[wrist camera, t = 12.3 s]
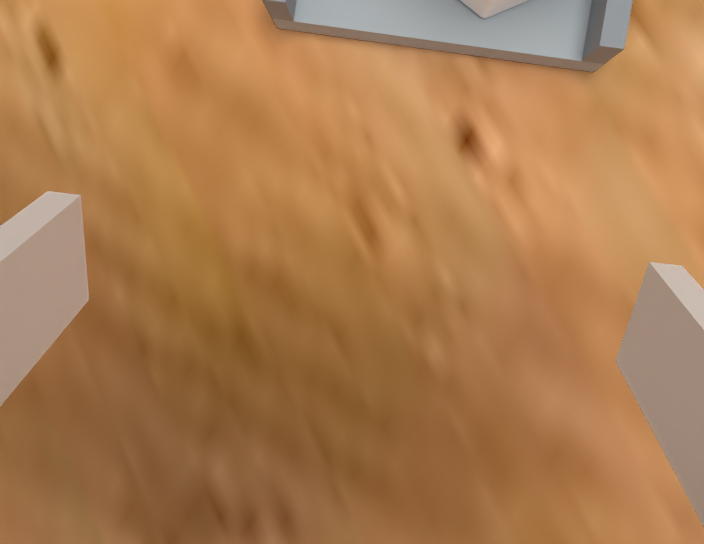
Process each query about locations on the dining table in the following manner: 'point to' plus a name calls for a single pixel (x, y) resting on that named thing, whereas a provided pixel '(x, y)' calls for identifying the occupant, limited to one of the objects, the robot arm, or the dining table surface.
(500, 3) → the jar
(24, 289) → the robot arm
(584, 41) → the dock bay
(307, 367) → the dining table surface
